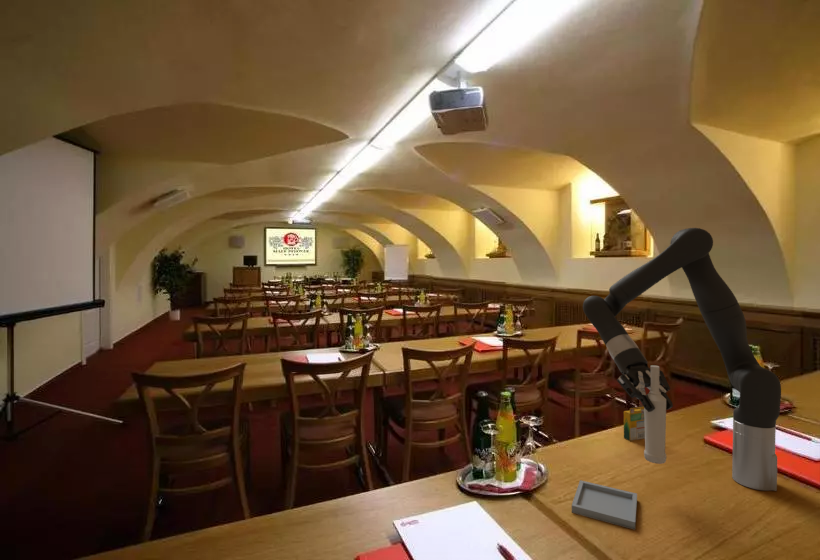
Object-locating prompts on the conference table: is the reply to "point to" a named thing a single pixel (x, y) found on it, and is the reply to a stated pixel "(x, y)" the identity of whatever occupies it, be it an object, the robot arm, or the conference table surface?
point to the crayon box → (634, 424)
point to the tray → (605, 504)
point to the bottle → (655, 422)
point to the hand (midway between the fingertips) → (660, 409)
